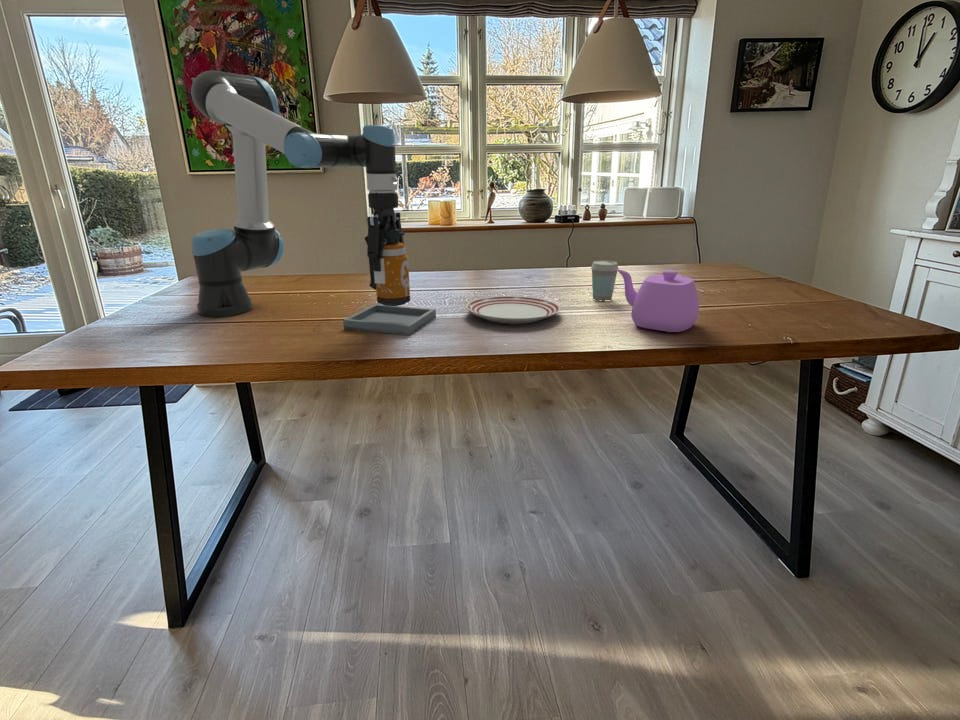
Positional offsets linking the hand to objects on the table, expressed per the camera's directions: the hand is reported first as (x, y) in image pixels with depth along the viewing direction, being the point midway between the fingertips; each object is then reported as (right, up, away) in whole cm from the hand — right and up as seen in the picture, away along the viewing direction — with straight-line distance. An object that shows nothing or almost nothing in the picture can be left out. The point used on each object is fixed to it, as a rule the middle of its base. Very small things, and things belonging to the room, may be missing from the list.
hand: (388, 279), depth 140 cm
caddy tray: (0, -11, +4) cm, 12 cm away
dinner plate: (+34, -9, +12) cm, 37 cm away
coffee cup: (+64, -2, +28) cm, 70 cm away
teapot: (+74, -13, +2) cm, 75 cm away
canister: (0, -6, +2) cm, 7 cm away
